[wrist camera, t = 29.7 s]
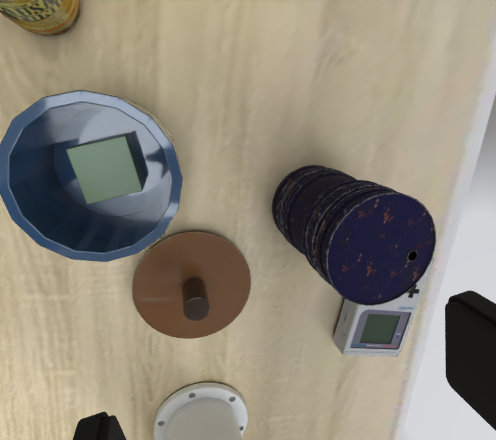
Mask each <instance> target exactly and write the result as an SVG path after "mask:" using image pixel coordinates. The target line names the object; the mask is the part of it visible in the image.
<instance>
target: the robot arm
mask: <svg viewBox="0 0 496 440" xmlns="http://www.w3.org/2000/svg"><path fill="white" fill-rule="evenodd" d="M445 333H446V334H445V339H446V378H447V381H448V383H449V384H450V386H451V387H452V388H453V389H454V390H455V391H456V392H457V393H458V394H459V395H460V396H461V397H462V398H463V399H464V400H465V401H466V402H467V403H468V404H469V405H470V406H471V407H472V408H473V409H474V410H475V411H476V412H477V413H478V414H479V415H480V416H481V417H482V418H483V419H484V420H486V422H487V423H488V424H490V425H491V426H492V427H493V428H494V429H495V430H496V304H495V303H493V302H491V301H490V300H488V299H486V298H485V297H483V296H481V295H479V294H478V293H476V292H474V291H466V292H463V293H460V294H457V295H454V296H452V297H450V298H449V301H448V304H446V306H445ZM247 421H248V413H247V408H246V405H245V402H244V400H243V398H242V396H241V395H240V394H239V393H238V392H237V391H236V390H234V389H232V388H231V387H229V386H226V385H224V384H219V383H207V382H206V383H198V384H194V385H191V386H187V387H185V388H183V389H181V390H179V391H177V392H176V393H174V394H173V395H171V396H170V397H169V398H168V399H167V400H166V401H165V402H164V403H163V404H162V406H161V407H160V408H159V410H158V412H157V414H156V418H155V422H154V438H155V440H242V438H241V437H242V435H243V433H244V431H245V429H246V426H247ZM73 440H126V438H125V436H124V433H123V431H122V429H121V427H120V425H119V422H118V420H117V418H116V416H114V415H112V416H108V414H107V413H106V412H102V413H99V414H96V415H92V416H89V417H86V418H83V419H81V420H80V421H79V422H78V425H77V428H76V431H75V434H74V438H73Z"/></svg>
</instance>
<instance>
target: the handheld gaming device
mask: <svg viewBox="0 0 496 440" xmlns="http://www.w3.org/2000/svg"><path fill="white" fill-rule="evenodd" d="M433 261H434V259H433V258H432V260H431V262H430V265H429V267H428V269H427V270H426V272H425V274H424V275H423V276H422V278H421V279H420V280H419V282H418V283H417V284H416V285H415V286H414V287H413V288H412V289H410V290H409V291H408V292H407V293H405V294H404V295H402V296H401V297H399V298H397V299H395V300H393V301H391V302H388V303H385V304H381V305H375V306H365V305H359V304H355V303H353V302H350V301H348V300H347V299H345V301H344V304H343V307H342V311H341V314H340V317H339V321H338V324H337V328H336V331H335V334H334V343H335V344H336V346H337V347H338V349H339V350H340V351H341V353H342V354H343V355H364V356H399V355H400V352H401V350H402V347H403V344H404V341H405V338H406V336H407V333H408V330H409V327H410V325H411V322H412V319H413V316H414V314H415V311H416V308H417V305H418V302H419V300H420V297H421V294H422V291H423V289H424V286H425V283H426V280H427V278H428V275H429V272H430V269H431V266H432V264H433Z"/></svg>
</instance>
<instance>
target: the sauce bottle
mask: <svg viewBox="0 0 496 440" xmlns="http://www.w3.org/2000/svg"><path fill="white" fill-rule="evenodd" d="M79 10H80V9H79V0H0V13H2V14H3V15H5V16H6V17H7V18H9V19H10V20H12V21H13V22H15V23H16V24H18V25H19V26H21V27H22V28H24V29H26V30H28V31H30V32H34V33H37V34H42V35H58V34H60V33H65V32H66V31H67V30H68V29H69V28H70V27H71V26H72V25H73V24H74V22H75V21H76V19H77V17H78V15H79V13H80V11H79Z"/></svg>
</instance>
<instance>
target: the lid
mask: <svg viewBox="0 0 496 440" xmlns="http://www.w3.org/2000/svg"><path fill="white" fill-rule="evenodd" d="M250 286H251V277H250V271H249V268H248V265H247V263H246V261H245V259H244V257H243V256H242V254H241V253H240V251H239V250H238V249H237V248H236V247H235V246H234V245H233V244H232V243H230V242H229V241H227V240H226V239H224V238H222V237H220V236H218V235H214V234H211V233H206V232H196V231H193V232H184V233H179V234H176V235H173V236H170V237H168V238H166V239H163V240H162V241H160V242H159V243H157V244H156V245H154V246H153V247H152V248H151V249H150V250H149V251H148V252H147V253H146V254H145V255H144V257H143V258H142V260H141V261H140V263H139V265H138V267H137V269H136V272H135V275H134V280H133V289H132V292H133V299H134V303H135V306H136V308H137V310H138V312H139V314H140V315H141V317H142V318H143V319H144V320H145V321H146V323H148V324H149V325H150V326H151V327H152V328H154V329H155V330H157V331H159V332H161V333H163V334H165V335H168V336H171V337H176V338H185V339H187V338H199V337H204V336H208V335H210V334H213V333H215V332H217V331H219V330H221V329H223V328H224V327H226V326H227V325H229V324H230V323H231V322H232V321H233V320H234V319H235V318H236V317H237V316H238V315H239V314H240V312H241V311H242V309H243V308H244V306H245V304H246V302H247V299H248V296H249V293H250Z"/></svg>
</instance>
